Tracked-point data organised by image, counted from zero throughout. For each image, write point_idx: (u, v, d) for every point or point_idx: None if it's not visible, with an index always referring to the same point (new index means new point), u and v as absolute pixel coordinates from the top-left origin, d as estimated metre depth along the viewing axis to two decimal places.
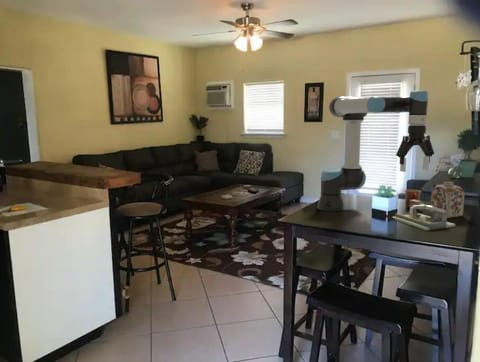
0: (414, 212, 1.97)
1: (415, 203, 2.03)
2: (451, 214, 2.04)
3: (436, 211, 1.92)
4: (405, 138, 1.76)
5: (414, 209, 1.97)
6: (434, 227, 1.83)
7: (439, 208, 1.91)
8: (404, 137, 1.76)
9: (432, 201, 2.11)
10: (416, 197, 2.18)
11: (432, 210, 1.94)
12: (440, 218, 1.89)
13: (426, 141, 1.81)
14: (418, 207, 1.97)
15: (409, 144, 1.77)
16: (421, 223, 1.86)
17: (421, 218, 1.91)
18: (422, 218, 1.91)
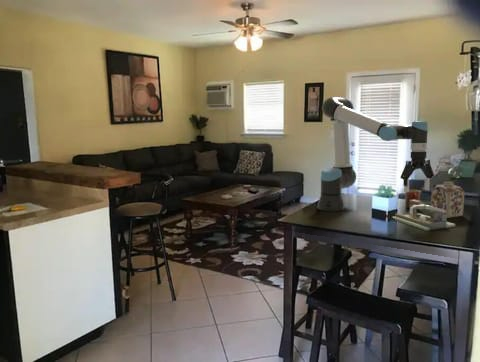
0: (414, 212, 1.97)
1: (415, 203, 2.03)
2: (451, 214, 2.04)
3: (436, 211, 1.92)
4: (408, 163, 1.99)
5: (414, 209, 1.97)
6: (434, 227, 1.83)
7: (439, 208, 1.91)
8: (407, 162, 1.99)
9: (432, 201, 2.11)
10: (416, 197, 2.18)
11: (432, 210, 1.94)
12: (440, 218, 1.89)
13: (427, 165, 2.04)
14: (418, 207, 1.97)
15: (412, 168, 2.00)
16: (421, 223, 1.86)
17: (421, 218, 1.91)
18: (422, 218, 1.91)
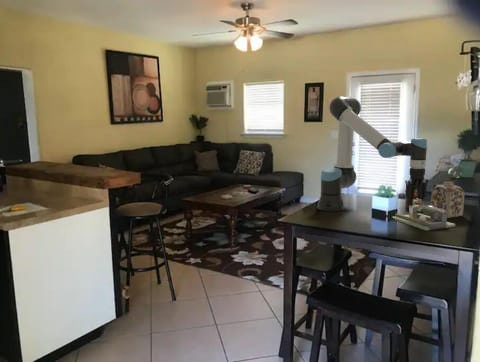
0: (414, 212, 1.97)
1: (415, 203, 2.03)
2: (451, 214, 2.04)
3: (436, 211, 1.91)
4: (408, 183, 2.01)
5: (414, 209, 1.97)
6: (434, 227, 1.83)
7: (439, 208, 1.90)
8: (406, 182, 2.01)
9: (432, 201, 2.11)
10: (416, 197, 2.18)
11: (432, 210, 1.94)
12: (440, 218, 1.89)
13: (423, 184, 2.05)
14: (418, 207, 1.97)
15: (413, 186, 2.03)
16: (421, 223, 1.86)
17: (421, 218, 1.91)
18: (422, 218, 1.91)
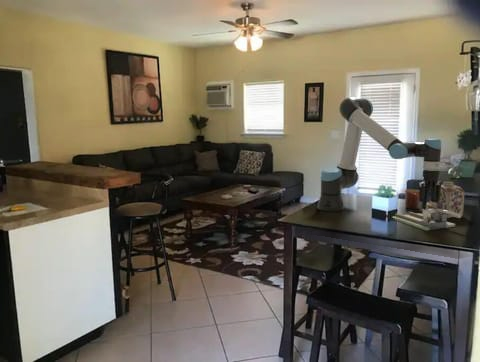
0: (428, 216, 1.88)
1: (429, 207, 1.94)
2: None
3: (451, 215, 1.83)
4: (421, 185, 1.92)
5: (428, 213, 1.88)
6: (434, 227, 1.83)
7: None
8: (420, 184, 1.93)
9: None
10: (416, 197, 2.18)
11: (447, 214, 1.85)
12: (440, 218, 1.89)
13: (437, 186, 1.97)
14: (432, 211, 1.89)
15: (426, 189, 1.94)
16: (421, 223, 1.86)
17: None
18: None
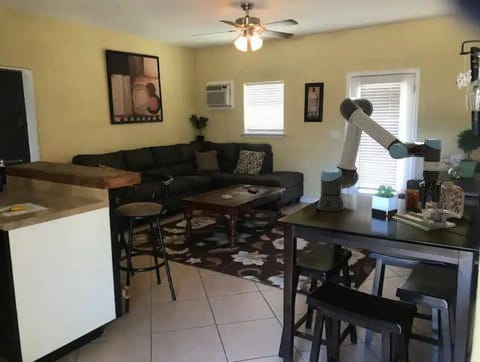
0: (428, 216, 1.88)
1: (429, 207, 1.94)
2: None
3: (451, 215, 1.83)
4: (421, 185, 1.92)
5: (428, 213, 1.88)
6: (434, 227, 1.83)
7: None
8: (419, 184, 1.93)
9: None
10: (416, 197, 2.18)
11: (447, 214, 1.85)
12: (440, 218, 1.89)
13: (437, 186, 1.97)
14: (432, 211, 1.89)
15: (426, 189, 1.94)
16: (421, 223, 1.86)
17: None
18: None
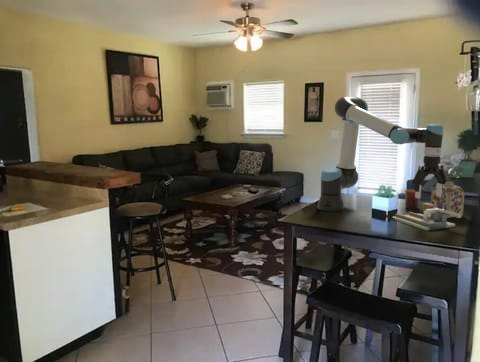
0: (428, 216, 1.88)
1: (429, 207, 1.94)
2: None
3: (451, 215, 1.83)
4: (421, 168, 1.91)
5: (428, 213, 1.88)
6: (434, 227, 1.83)
7: None
8: (420, 167, 1.91)
9: (432, 201, 2.11)
10: None
11: (447, 214, 1.85)
12: (440, 218, 1.89)
13: (440, 170, 1.96)
14: (432, 211, 1.89)
15: (424, 173, 1.93)
16: (421, 223, 1.86)
17: None
18: None
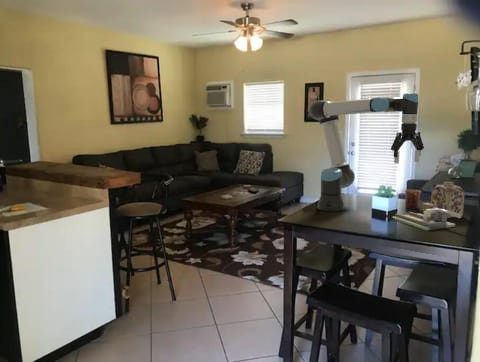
0: (428, 216, 1.88)
1: (429, 207, 1.94)
2: None
3: (451, 215, 1.83)
4: (398, 134, 2.02)
5: (428, 213, 1.88)
6: (434, 227, 1.83)
7: None
8: (398, 133, 2.03)
9: (432, 201, 2.11)
10: (416, 197, 2.18)
11: (447, 214, 1.85)
12: (440, 218, 1.89)
13: (417, 137, 2.07)
14: (432, 211, 1.89)
15: (402, 139, 2.04)
16: (421, 223, 1.86)
17: None
18: None
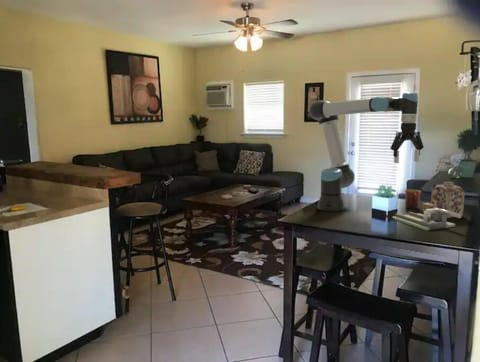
0: (428, 216, 1.88)
1: (429, 207, 1.94)
2: None
3: (451, 215, 1.83)
4: (398, 134, 2.03)
5: (428, 213, 1.88)
6: (434, 227, 1.83)
7: None
8: (397, 133, 2.03)
9: (432, 201, 2.11)
10: (416, 197, 2.18)
11: (447, 214, 1.85)
12: (440, 218, 1.89)
13: (416, 136, 2.08)
14: (432, 211, 1.89)
15: (402, 139, 2.04)
16: (421, 223, 1.86)
17: None
18: None
